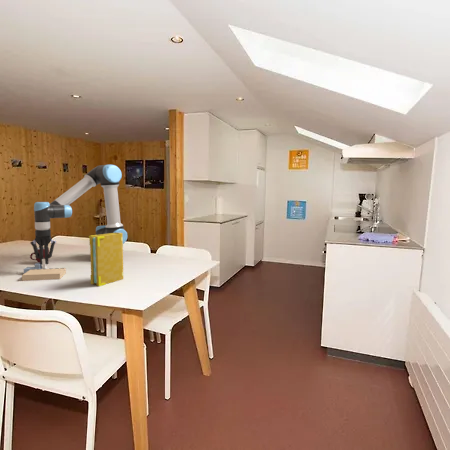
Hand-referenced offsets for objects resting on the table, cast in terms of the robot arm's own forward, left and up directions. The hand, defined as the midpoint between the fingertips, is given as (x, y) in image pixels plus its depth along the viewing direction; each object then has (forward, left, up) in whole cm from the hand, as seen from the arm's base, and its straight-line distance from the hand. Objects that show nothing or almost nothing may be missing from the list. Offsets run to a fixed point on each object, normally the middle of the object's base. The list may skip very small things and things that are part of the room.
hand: (44, 269), depth 177 cm
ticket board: (-3, +9, -2) cm, 10 cm away
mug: (+10, -25, -2) cm, 27 cm away
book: (-38, +24, -2) cm, 45 cm away
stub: (+6, 0, -2) cm, 6 cm away
